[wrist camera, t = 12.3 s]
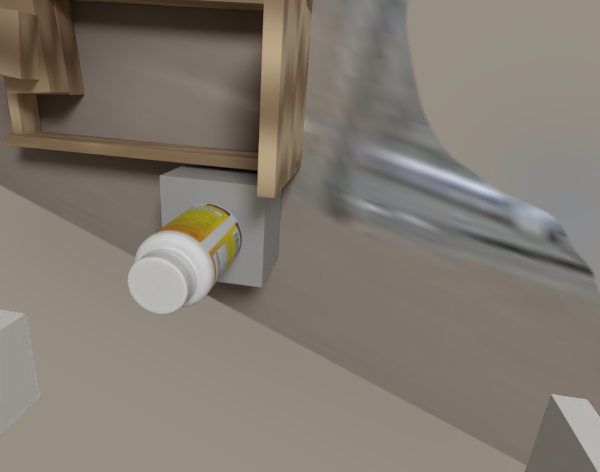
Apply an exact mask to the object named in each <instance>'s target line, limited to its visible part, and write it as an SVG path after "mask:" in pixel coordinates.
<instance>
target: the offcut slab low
mask: <svg viewBox="0 0 600 472" xmlns="http://www.w3.org/2000/svg"><path fill="white" fill-rule="evenodd" d="M53 5H54V10H55V16H56V21H57V26H58V31H59V37H60V42H61V47H62V53H63V58H64V64H65V69H66V74H67V80H68V85H69V90H70V92H64V93H26V94H39V95H85V94H84V88H83V81H82V75H81V68H80V62H79V55H78V49H77V43H76V36H75V30H74V23H73V17H72V10H71V4H70V1H68V0H53Z"/></svg>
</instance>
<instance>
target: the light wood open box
mask: <svg viewBox="0 0 600 472" xmlns="http://www.w3.org/2000/svg"><path fill="white" fill-rule="evenodd" d="M72 1H91V2H109V3H128V4H146V5H165V6H183V7H202V8H220V9H239V10H257V11H264V14H263V42H262V70H261V98H260V126H259V152H248V151H238V150H227V149H217V148H206V147H196V146H185V145H175V144H164V143H154V142H143V141H133V140H123V139H112V138H102V137H91V136H81V135H70V134H60V133H49V132H42V131H41V123H40V116H39V109H38V102H37V94H26V93H7V97H8V104H9V110H10V116H11V122H12V129H13V133H12V134H5V138H6V144H7V145H9V146H19V147H29V148H39V149H49V150H59V151H69V152H79V153H89V154H99V155H109V156H119V157H129V158H138V159H148V160H158V161H168V162H178V163H188V164H198V165H208V166H218V167H228V168H238V169H248V170H258V182H257V196H259V197H268V198H275V197H276V195H277V194H278V193H279V192H280V191H281V190H282V188H283V187H284V186H285V185H286V184H287V183H288V181H289V180H290V179H291V178H292V177H293V176H294V174H295V173H296V172H297V171H298V170H299V169H300V167H301V156H302V142H303V128H304V114H305V100H306V86H307V71H308V57H309V43H310V29H311V15H312V1H313V0H72ZM5 85H6V84H5ZM6 91H7V88H6Z"/></svg>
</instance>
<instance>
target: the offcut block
mask: <svg viewBox="0 0 600 472" xmlns="http://www.w3.org/2000/svg"><path fill="white" fill-rule="evenodd" d="M0 75H5V76H9V77H14V78H19V79H34V80H39V57H38V21H37V15H33V14H29V13H25V12H20V11H16V10H11V9H6V8H0Z"/></svg>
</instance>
